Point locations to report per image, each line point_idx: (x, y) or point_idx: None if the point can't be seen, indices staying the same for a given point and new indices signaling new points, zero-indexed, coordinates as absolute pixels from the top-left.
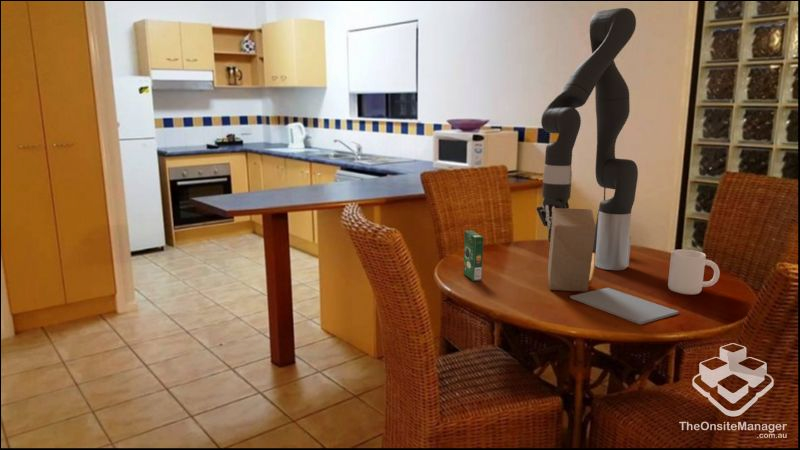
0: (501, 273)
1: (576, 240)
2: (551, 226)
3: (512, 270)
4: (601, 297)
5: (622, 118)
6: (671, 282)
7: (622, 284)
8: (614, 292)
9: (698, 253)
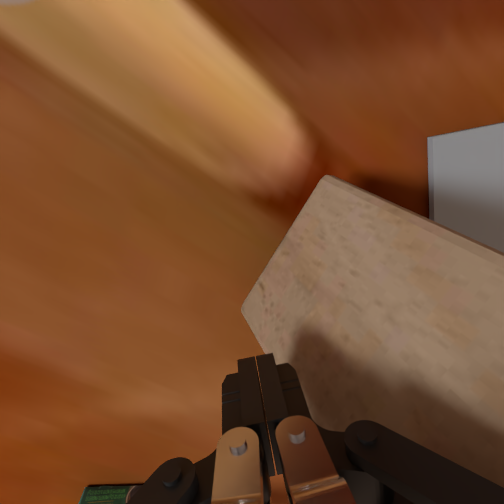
0: (107, 399)
1: None
2: (269, 500)
3: (75, 348)
4: (499, 239)
5: None
6: None
7: (404, 11)
8: (487, 154)
9: None
